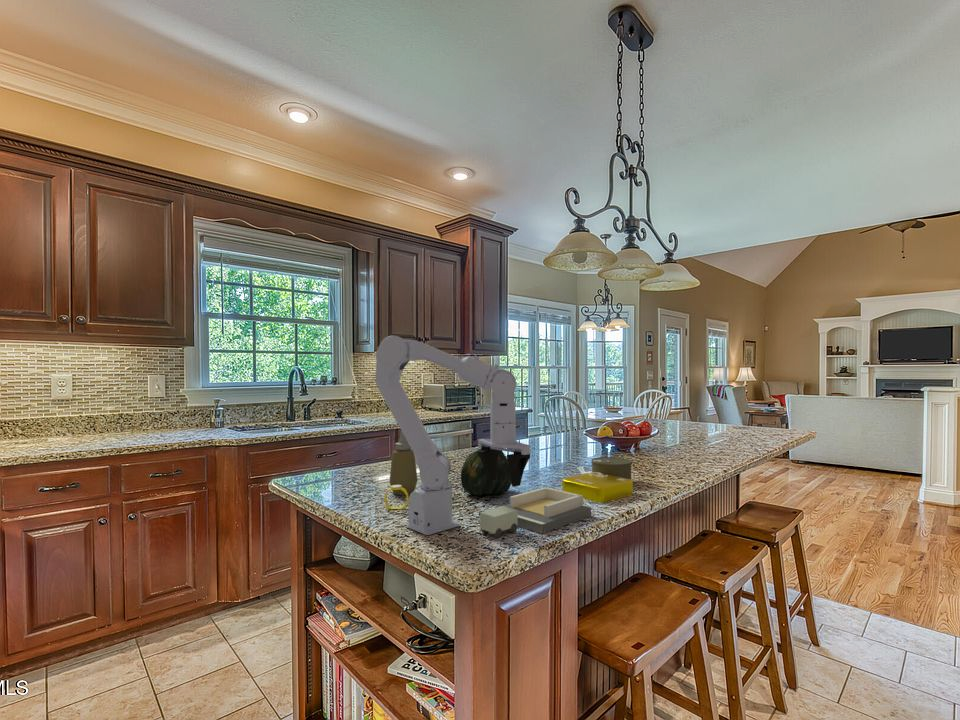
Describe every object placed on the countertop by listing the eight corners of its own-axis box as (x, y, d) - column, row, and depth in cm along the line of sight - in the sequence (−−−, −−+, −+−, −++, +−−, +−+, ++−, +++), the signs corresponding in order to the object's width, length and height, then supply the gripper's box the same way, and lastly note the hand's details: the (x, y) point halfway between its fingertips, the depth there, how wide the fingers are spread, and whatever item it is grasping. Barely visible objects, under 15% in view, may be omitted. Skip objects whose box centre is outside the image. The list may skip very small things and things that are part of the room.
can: (636, 487, 140) (635, 464, 140) (594, 487, 141) (594, 464, 141) (627, 478, 151) (627, 457, 152) (589, 478, 153) (589, 456, 153)
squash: (444, 472, 137) (468, 437, 131) (482, 467, 147) (506, 434, 141) (468, 513, 129) (494, 477, 122) (506, 505, 139) (532, 471, 132)
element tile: (559, 494, 135) (559, 477, 135) (593, 485, 144) (592, 469, 144) (602, 505, 123) (602, 486, 123) (636, 495, 132) (635, 478, 132)
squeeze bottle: (392, 489, 140) (392, 428, 141) (419, 489, 140) (419, 428, 140) (386, 496, 132) (386, 432, 133) (415, 496, 132) (414, 432, 132)
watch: (384, 512, 119) (382, 488, 119) (386, 508, 122) (384, 485, 122) (408, 509, 119) (406, 486, 119) (409, 506, 122) (407, 483, 122)
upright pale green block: (494, 539, 98) (494, 517, 98) (480, 534, 101) (480, 512, 101) (517, 531, 102) (517, 510, 102) (503, 526, 106) (503, 505, 106)
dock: (542, 534, 100) (542, 512, 101) (490, 517, 112) (490, 498, 112) (591, 515, 113) (590, 496, 113) (539, 502, 124) (539, 485, 125)
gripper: (539, 423, 105) (539, 485, 104) (492, 419, 115) (493, 475, 115) (517, 426, 100) (518, 491, 99) (471, 421, 110) (471, 480, 110)
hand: (503, 483), depth 107 cm, fingers open, 7 cm apart
